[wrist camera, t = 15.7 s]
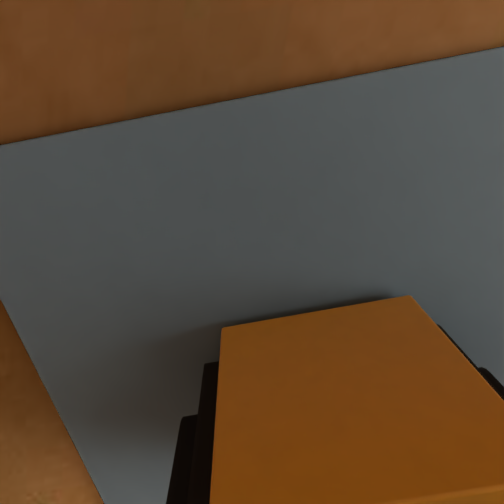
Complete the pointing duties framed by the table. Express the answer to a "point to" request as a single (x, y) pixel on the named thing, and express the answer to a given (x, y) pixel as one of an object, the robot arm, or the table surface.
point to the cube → (353, 412)
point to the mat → (246, 240)
